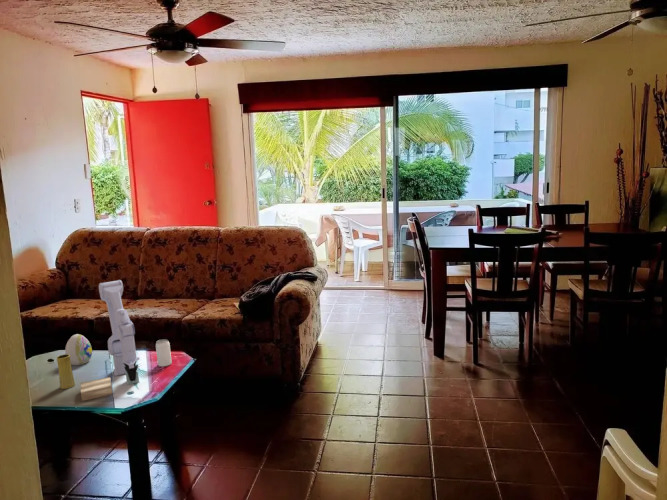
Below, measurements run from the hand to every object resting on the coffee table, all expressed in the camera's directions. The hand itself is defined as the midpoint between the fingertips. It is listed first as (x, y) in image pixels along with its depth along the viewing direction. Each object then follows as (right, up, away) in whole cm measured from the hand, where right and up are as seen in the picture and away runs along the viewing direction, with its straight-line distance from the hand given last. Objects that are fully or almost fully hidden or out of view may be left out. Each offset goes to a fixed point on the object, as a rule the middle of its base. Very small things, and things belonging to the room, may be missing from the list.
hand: (132, 378), depth 238 cm
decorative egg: (-39, 0, +31) cm, 49 cm away
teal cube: (0, -2, 0) cm, 2 cm away
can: (+9, +2, +19) cm, 21 cm away
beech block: (-12, -4, -10) cm, 16 cm away
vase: (-29, -4, 0) cm, 30 cm away
